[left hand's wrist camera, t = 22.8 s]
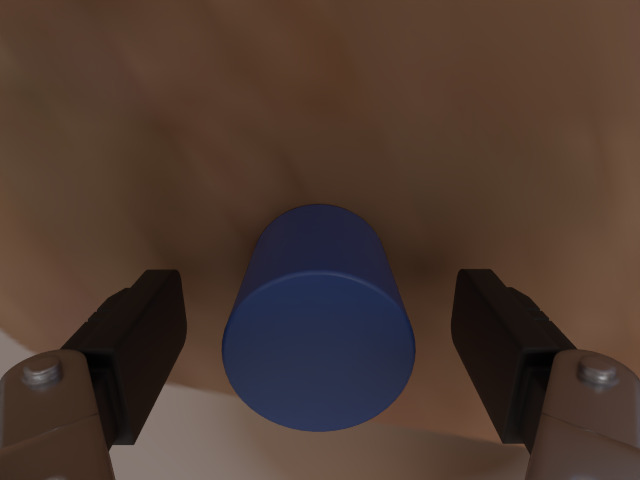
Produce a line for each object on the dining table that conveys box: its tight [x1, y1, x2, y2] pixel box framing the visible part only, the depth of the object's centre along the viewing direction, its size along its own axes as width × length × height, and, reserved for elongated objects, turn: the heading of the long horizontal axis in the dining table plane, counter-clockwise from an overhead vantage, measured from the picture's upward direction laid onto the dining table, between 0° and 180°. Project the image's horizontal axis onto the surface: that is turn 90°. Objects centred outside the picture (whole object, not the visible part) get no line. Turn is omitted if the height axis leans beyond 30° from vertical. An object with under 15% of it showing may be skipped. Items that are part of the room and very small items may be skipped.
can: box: [222, 205, 416, 432], centre depth 11 cm, size 4×4×5 cm
